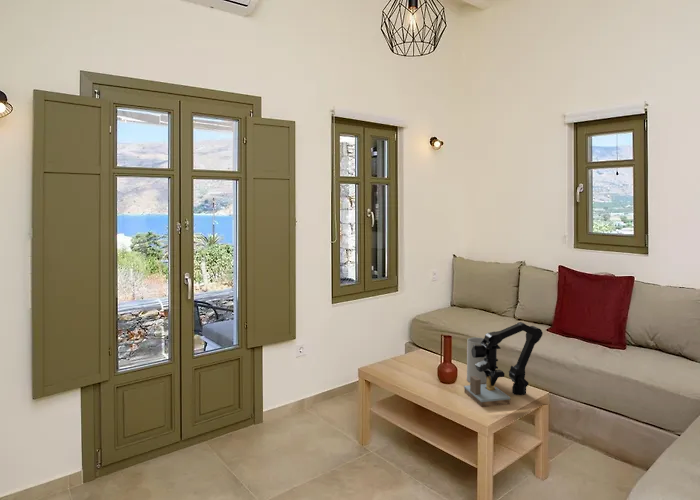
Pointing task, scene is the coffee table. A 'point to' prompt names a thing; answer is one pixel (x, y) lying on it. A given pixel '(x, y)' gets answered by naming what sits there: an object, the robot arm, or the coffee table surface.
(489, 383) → the golden wooden block
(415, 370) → the coffee table surface
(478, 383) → the grey plate with hole
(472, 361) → the cylinder vase
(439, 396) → the coffee table surface
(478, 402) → the brown open tray
